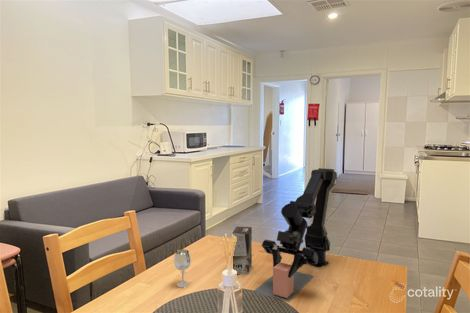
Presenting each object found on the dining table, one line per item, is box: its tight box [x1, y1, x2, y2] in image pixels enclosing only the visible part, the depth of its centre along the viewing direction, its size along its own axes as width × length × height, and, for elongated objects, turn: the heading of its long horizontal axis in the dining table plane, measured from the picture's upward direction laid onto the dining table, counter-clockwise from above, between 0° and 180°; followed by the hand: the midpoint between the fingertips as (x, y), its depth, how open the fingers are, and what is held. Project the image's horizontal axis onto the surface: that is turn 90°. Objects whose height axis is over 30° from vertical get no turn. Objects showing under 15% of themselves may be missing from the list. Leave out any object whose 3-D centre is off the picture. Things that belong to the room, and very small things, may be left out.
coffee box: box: [231, 226, 253, 276], centre depth 131 cm, size 9×6×16 cm
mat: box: [253, 271, 315, 303], centre depth 120 cm, size 22×13×1 cm, turn 146°
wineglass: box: [173, 249, 192, 288], centre depth 120 cm, size 6×6×12 cm
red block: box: [272, 262, 294, 298], centre depth 111 cm, size 5×5×9 cm
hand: (281, 275), depth 110 cm, fingers closed on red block, 5 cm apart
